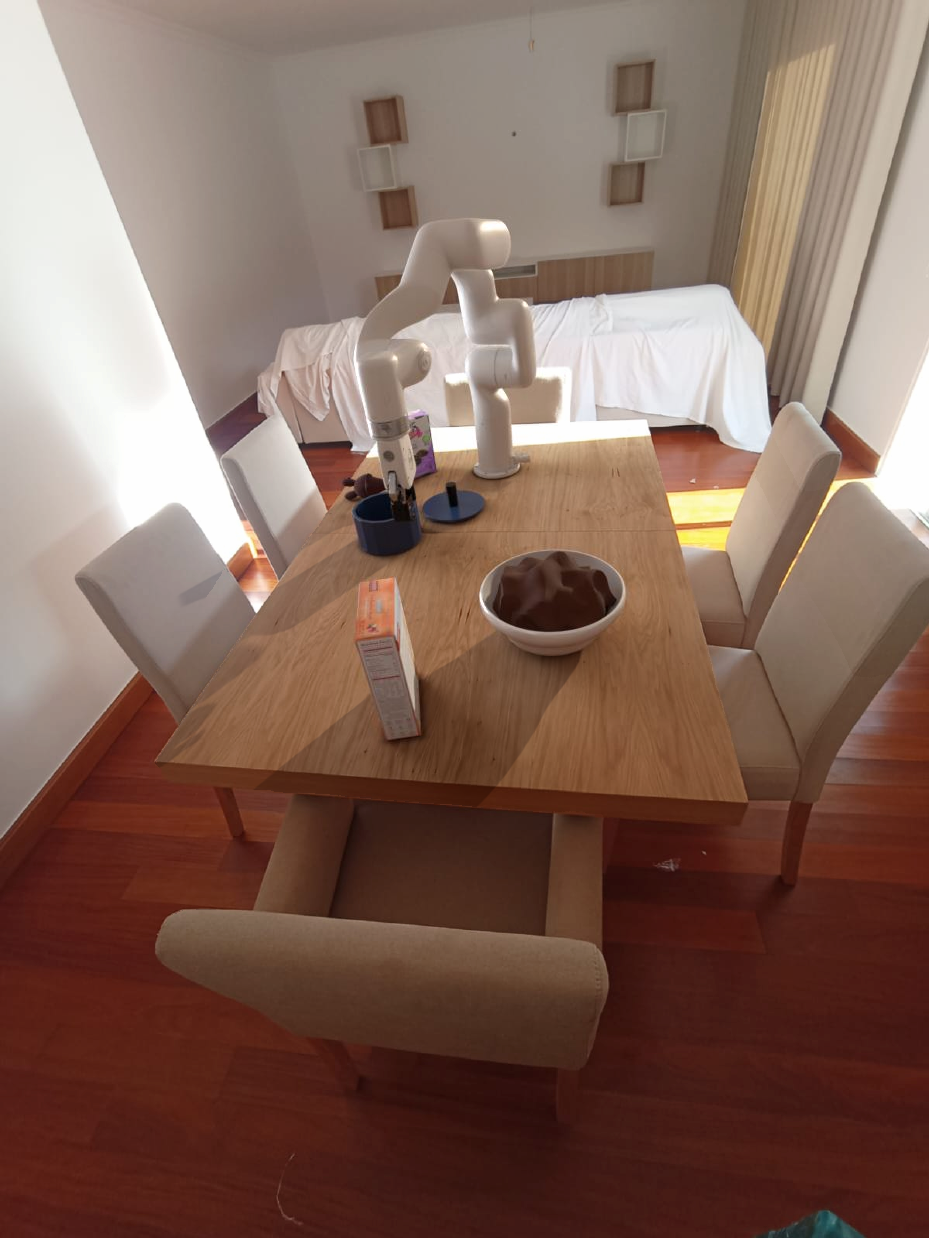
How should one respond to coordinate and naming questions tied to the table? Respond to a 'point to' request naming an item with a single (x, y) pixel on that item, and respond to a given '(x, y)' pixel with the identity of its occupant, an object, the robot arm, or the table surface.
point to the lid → (453, 505)
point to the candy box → (421, 443)
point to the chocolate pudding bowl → (552, 600)
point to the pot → (384, 526)
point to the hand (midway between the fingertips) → (406, 509)
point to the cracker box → (388, 658)
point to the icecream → (363, 486)
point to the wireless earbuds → (410, 503)
